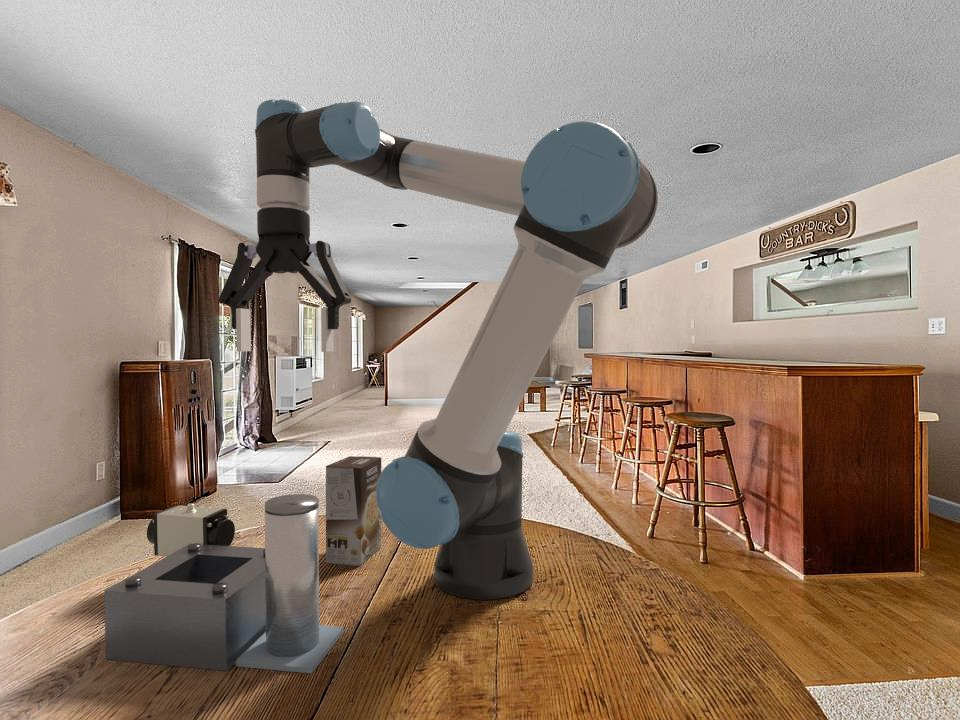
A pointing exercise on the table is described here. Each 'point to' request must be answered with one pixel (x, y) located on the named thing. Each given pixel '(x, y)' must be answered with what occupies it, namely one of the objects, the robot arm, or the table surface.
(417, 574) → the table surface
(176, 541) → the pneumatic valve
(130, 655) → the housing
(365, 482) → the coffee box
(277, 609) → the metal cylinder
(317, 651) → the pad
